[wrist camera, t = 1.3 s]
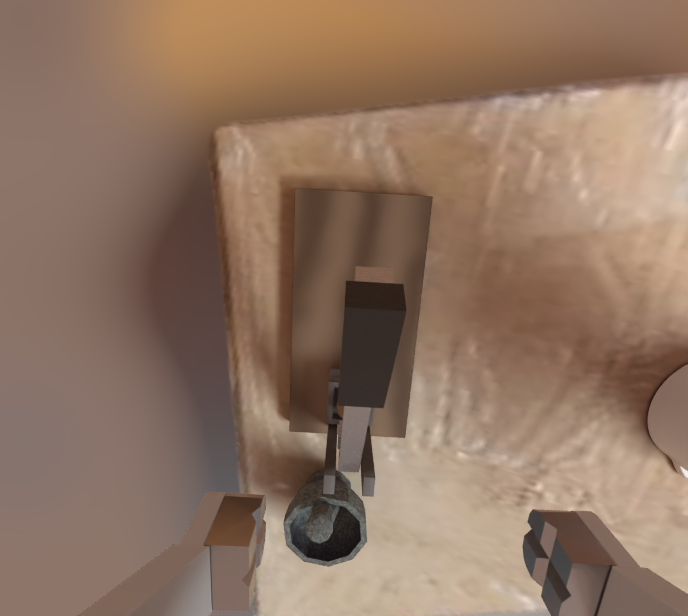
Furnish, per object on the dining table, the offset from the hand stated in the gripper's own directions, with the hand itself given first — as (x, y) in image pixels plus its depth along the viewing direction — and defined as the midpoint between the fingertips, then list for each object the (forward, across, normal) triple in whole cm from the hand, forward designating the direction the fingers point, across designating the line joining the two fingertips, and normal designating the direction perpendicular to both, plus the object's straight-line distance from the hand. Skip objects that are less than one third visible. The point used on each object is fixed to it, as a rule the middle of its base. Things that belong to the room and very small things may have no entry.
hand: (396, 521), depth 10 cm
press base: (+33, 0, +4) cm, 34 cm away
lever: (+19, 0, +5) cm, 20 cm away
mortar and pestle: (+34, +2, +27) cm, 43 cm away
